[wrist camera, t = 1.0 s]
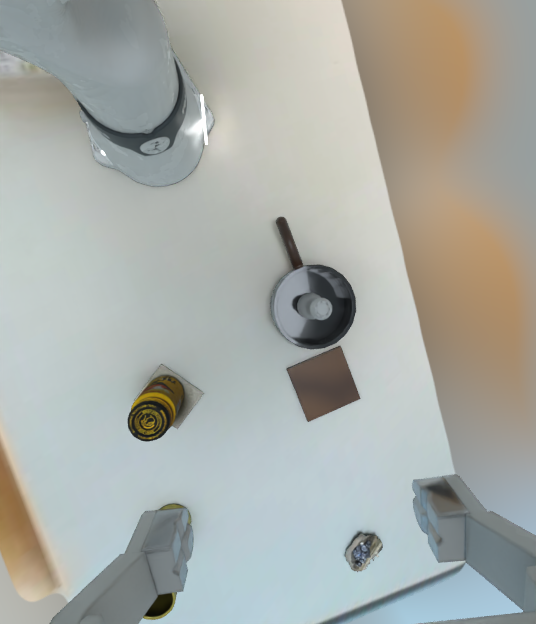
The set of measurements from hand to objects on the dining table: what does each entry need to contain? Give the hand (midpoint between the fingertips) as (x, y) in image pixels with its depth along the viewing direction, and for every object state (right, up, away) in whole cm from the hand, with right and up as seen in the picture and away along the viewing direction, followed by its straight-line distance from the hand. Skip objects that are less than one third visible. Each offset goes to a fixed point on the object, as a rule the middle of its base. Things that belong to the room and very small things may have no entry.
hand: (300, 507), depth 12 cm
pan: (+6, +8, +43) cm, 45 cm away
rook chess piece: (+6, +8, +43) cm, 44 cm away
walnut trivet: (+9, -5, +45) cm, 46 cm away
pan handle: (+2, +18, +40) cm, 44 cm away
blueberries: (+16, -37, +49) cm, 63 cm away
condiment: (-17, -7, +42) cm, 46 cm away
